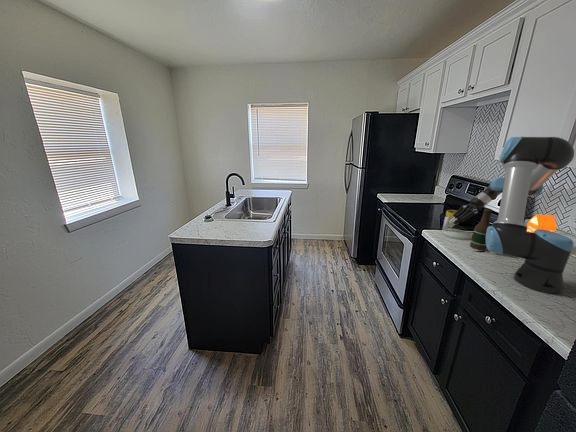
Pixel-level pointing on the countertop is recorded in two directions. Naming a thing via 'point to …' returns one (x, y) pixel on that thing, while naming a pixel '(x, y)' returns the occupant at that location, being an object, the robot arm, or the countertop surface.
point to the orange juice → (542, 223)
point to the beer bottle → (481, 232)
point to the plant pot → (450, 214)
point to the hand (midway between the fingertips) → (448, 225)
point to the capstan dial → (454, 231)
